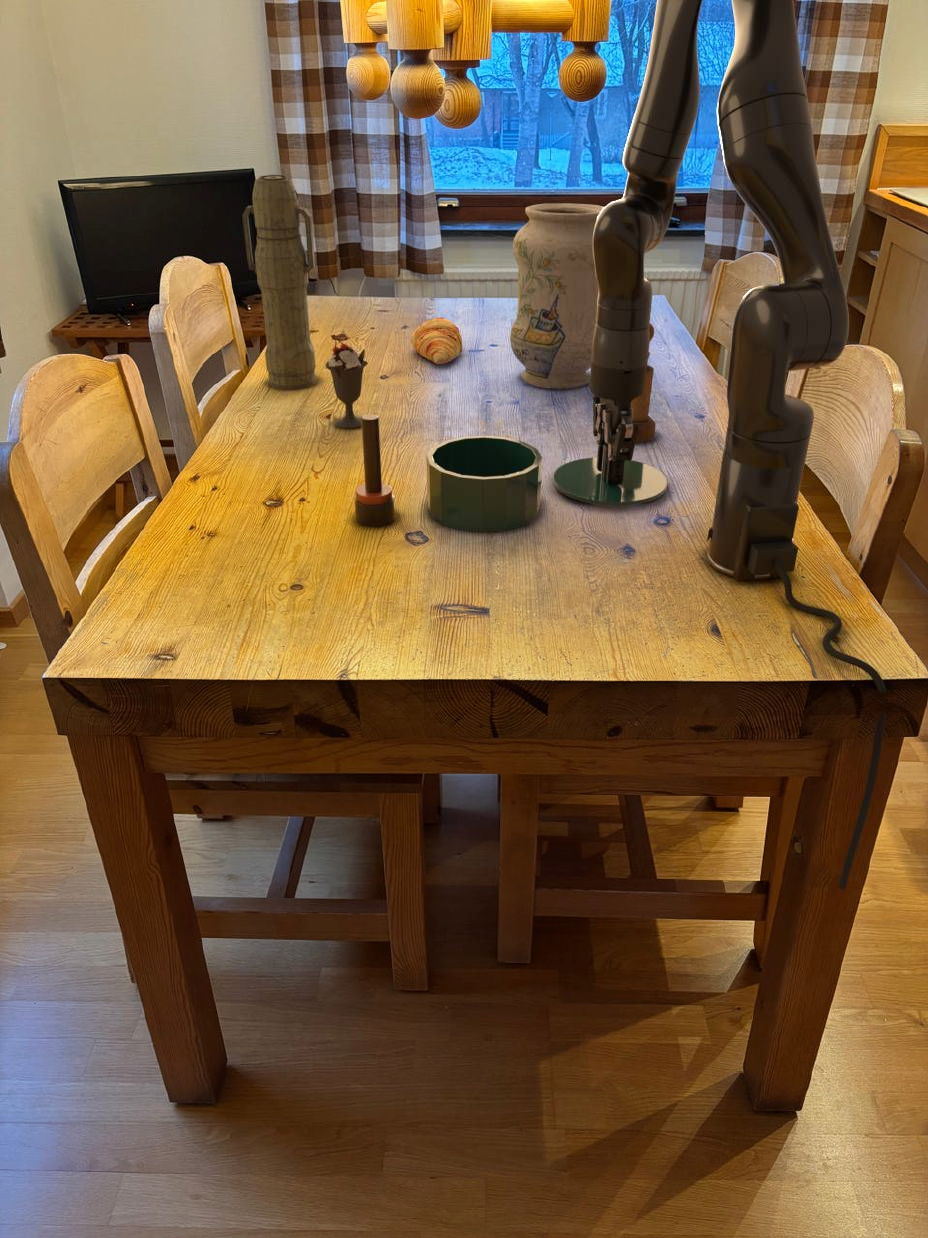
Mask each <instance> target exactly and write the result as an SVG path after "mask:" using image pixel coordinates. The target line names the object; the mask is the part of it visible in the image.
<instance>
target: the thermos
mask: <svg viewBox="0 0 928 1238" xmlns="http://www.w3.org/2000/svg"><path fill="white" fill-rule="evenodd" d="M250 213H251V215H252V214H253V217H254V226H255V229H256V234H257V235H256V238H255V239H256V246H255V251H254V256H253V246H252V245H253V244H252V240H251V239H252V238H251V227H250V220H249V219H250V218H249V215H250ZM300 214H301V215H302V217H303V218H304V225H305V238H306V249H305V246H304V243H303V240H302V234H301V232H300V231H301V230H300V226H301V217H300ZM241 217H242V226H243V233H244V243H245V252H246V253H245V254H246V260H247V265H248V270H249V271H254V274H256V280H257V285H258V287H259V289H260V292H261V300H262V311H263V319H264V328H265V337H266V347H265V352H264V357H265V367H266V371H267V372H268V384H269V386H270V387H272V388H273V389H274V388H275V389H280V390H300V389H301V390H302V389H305V388H309V387H311V386H314V385H315V384H316V383H317V377H316V367H317V365H316V354H315V351H316V350H315V349H314V344H313V342H312V340H311V330H310V329H311V328H310V317H309V306H308V305H309V304H308V292H307V289H308V285H309V272H311V271H312V270H313V269H314V267H315V266H316V259H315V245H314V244H315V243H314V223H313V220H314V219H313V215H312V214H311V212H310V211H309V209H308V208H307V207H304V206H301V205H300V204H299V195H298V192H297V189H296V187H295V184H294V181H293V179H292V178H291V177H288V175H283V174H267V175H260V176H259V177H258V178H255V180H254V185H253V189H252V205H248V206H246V207H245V209H244V211H243V213H242V215H241ZM306 250H307V251H306ZM254 260H255V263H254Z"/></svg>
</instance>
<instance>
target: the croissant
mask: <svg viewBox="0 0 928 1238" xmlns="http://www.w3.org/2000/svg"><path fill="white" fill-rule="evenodd" d="M410 341H411V346H412V347H413V348H414V349H415V351H416V353H418V354H419V355H420V356H422V357H424V358H426V359H427V360H429V361H431V362H433V363H434V364H437V365H444V364H447V363H450V362H451V361H453V360H454V359H456V358H457V357H458V356H459V355H461V354H462V353H463V338H462V335H461V331H460V329H459V327H458V326H457V325H456V324H455V323H454V322H453V321H451V320H448V319H446V318H444V317H435V318H431V319H428V320H425V321H424V322H422V323H421V324H420V325H419V326H418V327H416V328H415V330H414V331H413V333H412V334H411V337H410Z"/></svg>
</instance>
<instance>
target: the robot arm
mask: <svg viewBox="0 0 928 1238" xmlns="http://www.w3.org/2000/svg"><path fill="white" fill-rule="evenodd" d="M702 4H703V0H656V5H655V6H656V7H655V13H654V21H653V27H652V34H651V40H650V47H649V53H648V60H647V64H646V69H645V74H644V78H643V84H642V86H641V91H640V95H639V99H638V102H637V106H636V109H635V112H634V115H633V118H632V123H631V126H630V129H629V132H628V136H627V139H626V142H625V147H624V151H623V156H622V165H623V167H624V170H625V171H626V172H627V178H626V183H625V189H624V193H623V196H622V198H621V199H617V200H614V201H611V202H610V203H608V204H607V205H605V206H604V207H605V208H604V209H603V210H602V211H601V212H600V214H599V216H598V218H597V221H596V223H595V227H594V233H593V256H594V264H595V273H596V279H597V284H598V299H597V312H596V325H595V331H594V336H593V342H592V356H591V367H590V371H589V375H590V380H589V384H588V385H589V386H588V389H589V392H590V393H591V394H592V427H593V428H592V434H593V436H594V437H596V439H595V443H596V444H597V469H598V471H600V472H601V470H602V458H603V446H604V444H605V443H607V444H608V458H609V459H608V467H607V478H606V482H607V483H608V484H609V485H620V484H622V482H623V474H624V464H625V461H626V460H627V461H630V460H633V456H634V452H635V447H636V439H637V434H638V430H639V426H638V423H631V422H632V420H633V410H632V408H631V402H632V401H633V400H634V399H635V398H638V397H640V396H642V395H643V394H644V392H645V384H646V374H647V365H649V364H648V363H649V359H648V354H649V352H650V342H651V341H650V337H649V324H651V314H652V305H653V287H652V284H651V282H650V280H648V279H647V278H645V254H646V253H649V252H650V251H652V250H654V249H655V248H656V247H657V246H658V245H660V243H661V242H662V241H663V239H664V237H665V234H666V232H667V230H668V228H669V225H670V222H671V219H672V215H673V210H674V204H675V199H676V192H677V186H678V175H679V171H680V168H681V166H682V162H683V160H684V157H685V155H686V151H687V148H688V146H689V142H690V139H691V136H692V133H693V131H694V126H695V124H696V120H697V116H698V111H699V106H700V97H701V96H700V95H701V94H700V93H701V83H700V81H701V80H700V69H699V68H700V67H699V59H698V58H699V57H698V28H699V27H698V26H699V21H700V14H701V9H702ZM731 6H732V11H733V19H734V32H735V33H734V43H733V49H732V53H731V56H730V58H729V61H728V65H727V67H726V71H725V72H724V73H725V74H724V76H723V79H722V82H721V86H720V89H719V93H718V98H717V107H716V116H717V117H716V118H717V126H718V133H719V139H720V145H721V152H722V156H723V158H722V159H723V163H724V167H725V171H726V175H727V177H728V179H729V181H730V183H731V185H732V187H733V188H734V190H735V191H736V193H737V195H738V196H739V197H740V199H741V200H742V201H743V203H744V204H745V205H746V207H747V208H748V209H749V211H750V212H751V213H752V215H753V216H754V217H755V219H756V220H757V221H758V222H759V224H760V226H761V227H762V228H763V230H765V232H766V233H767V235H768V237H769V239H770V240H771V242H772V244H773V247H774V249H775V253H776V255H777V258H778V262H779V265H780V270H781V275H782V279H783V282H781V283H773V284H772V283H771V284H764V285H758V286H756V287H753V288H751V289H750V290H748V291H747V293H745V295H744V296H743V297H742V298H741V301H740V303H739V304H738V307H737V309H736V313H735V316H734V319H733V325H732V331H731V340H730V351H729V364H728V372H727V374H728V375H727V384H726V401H727V409H728V418H727V419H728V420H727V424H726V425H727V426H726V432H725V438H724V446H723V451H722V456H721V457H722V459H721V465H720V471H719V478H718V484H717V491H716V497H715V504H714V505H715V506H714V512H713V518H712V525H711V527H710V528H709V530H708V532H707V538H706V543H708V542H709V546H708V549H707V553H706V559H707V562H708V563H709V565H710V566H711V567H712V568H713V569H715V570H717V571H719V573H722V574H725V575H728V576H731V577H733V578H734V579H735V581H737V582H742V581H743V582H744V581H751V580H752V581H755V580H767V579H779V578H780V579H781V581H782V583H783V587H784V595H785V598H786V601H787V602H788V603H789V604H790V605H791V606H792V607H793V608H795V609H796V610H799V611H801V612H803V613H808V614H810V615H815V616H819V617H824V618H827V619H829V620H830V621H832V623H833V625H832V627H831V628H830V629H829V631H827V632H826V633H825V634H824V636H823V638H822V641H821V643H822V647H823V649H824V651H825V652H826V653H827V654H828V655H829V656H831V657H832V658H834V659H836V660H839V661H841V662H843V663H846V664H849V665H852V666H853V667H857V668H858V669H860V670H863V671H864V672H865V673H866V674H868V675H869V677H870V678H871V679H872V682H874V685H875V686H876V689H877V690H878V692H880V693H882V694H886V693H887V692H888V690H887V686H886V684H885V681H884V680H883V678H882V676H881V675H880V673H879V672H878V671H877V670H876V669H875V668H874V667H873V666H872V665H871V664H870V663H867V662H866V661H864V660H862V659H860V658H858V657H855V656H852V655H850V654H846V653H844V652H841V651H839V650H837V649H836V648H834V646H833V645H832V644H831V643H832V639H834V637H836V636H837V635H838V633H839V632H840V631H841V629H842V627H843V622H842V620H841V618H840V616H839V615H837V613H835V612H832V611H830V610H828V609H824V608H819V607H814V606H811V605H810V606H809V605H807V604H804V603H801V602H800V601H798V600H797V599H796V598H795V596H794V594H793V586H792V581H791V579H790V577H789V575H788V573H794V571H795V566H796V562H797V556H798V551H799V547H798V546H797V545H796V544H795V543H794V534H795V530H796V524H797V519H798V515H799V509H800V506H799V504H798V500H799V494H800V490H801V485H802V480H803V474H804V469H805V464H806V459H807V456H808V455H807V454H808V449H809V445H810V439H811V435H812V430H813V425H814V421H815V420H814V419H815V412H814V408H813V407H812V406H811V405H810V404H809V403H808V402H807V401H805V400H803V399H801V398H799V397H796V396H794V395H790V394H787V393H786V383H787V372H795V371H802V370H803V371H804V370H808V369H809V370H810V369H815V368H823V367H825V366H828V365H831V364H832V363H834V362H836V361H837V360H838V358H839V357H840V356H841V355H842V353H843V351H844V350H845V347H846V344H847V341H848V337H849V331H850V314H849V307H848V300H847V295H846V290H845V287H844V286H845V285H844V283H843V278H842V275H841V274H842V273H841V271H840V267H839V264H838V260H837V256H836V252H835V248H834V244H833V241H832V237H831V233H830V228H829V224H828V220H827V215H826V209H825V204H824V199H823V193H822V188H821V183H820V175H819V169H818V164H817V158H816V152H815V151H816V150H815V142H814V141H815V140H814V132H813V131H814V130H813V124H812V118H811V117H812V116H811V112H810V110H811V109H810V106H809V105H810V104H809V98H808V94H807V93H808V92H807V87H806V84H805V83H806V82H805V77H804V73H803V66H802V65H803V64H802V57H801V50H800V41H799V35H798V27H797V19H796V11H795V2H794V0H731ZM616 435H617V436H616ZM614 444H615V445H614ZM621 449H622V451H620V450H621ZM886 720H887V713H884V714H878V715H877V717H876V722H875V727H874V734H873V741H872V749H871V756H870V757H871V758H870V762H869V768H868V774H867V779H866V784H865V789H864V794H863V797H862V801H861V805H860V808H859V812H858V815H857V819H856V821H855V822H856V823H855V826H854V829H853V832H852V836H851V839H850V842H849V846H848V848H847V853H846V855H845V859H844V863H843V867H842V871H841V874H840V878H839V882H838V886H837V887H838V888H839V889H840V890H846V889H847V886H848V885H847V884H848V881H849V876H850V873H851V870H852V866H853V863H854V859H855V856H856V852H857V849H858V846H859V843H860V839H861V836H862V833H863V829H864V826H865V823H866V820H867V816H868V812H869V809H870V806H871V802H872V797H873V793H874V789H875V784H876V780H877V776H878V771H879V770H878V769H879V765H880V758H881V751H882V743H883V738H884V737H883V736H884V730H885V724H886Z"/></svg>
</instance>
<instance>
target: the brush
mask: <svg viewBox="0 0 928 1238" xmlns="http://www.w3.org/2000/svg"><path fill="white" fill-rule="evenodd" d="M379 417H380V416H379V415H377V414H373V413H367V414H363V415H362V416H361V417H360V419H361V420H362V426H361V432H362V433H361V437H362V453H363V471H364V483H363V484H360V485H358V486H357V487H356V488H355V497H354V508H355V509H354V511H355V520H356V521H355V522H357V523H358V524H359V525H361V526H365V527H368V528H369V527H370V528H371V527H373V528H375V527H383V526H387V525H389V524H391V523H392V522H394V521H395V519H396V518H395V497H394V495H393V489H392V486H390V485H389V484H387V483H383V477H382V457H381V437H380V435H381V434H380V418H379Z"/></svg>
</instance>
